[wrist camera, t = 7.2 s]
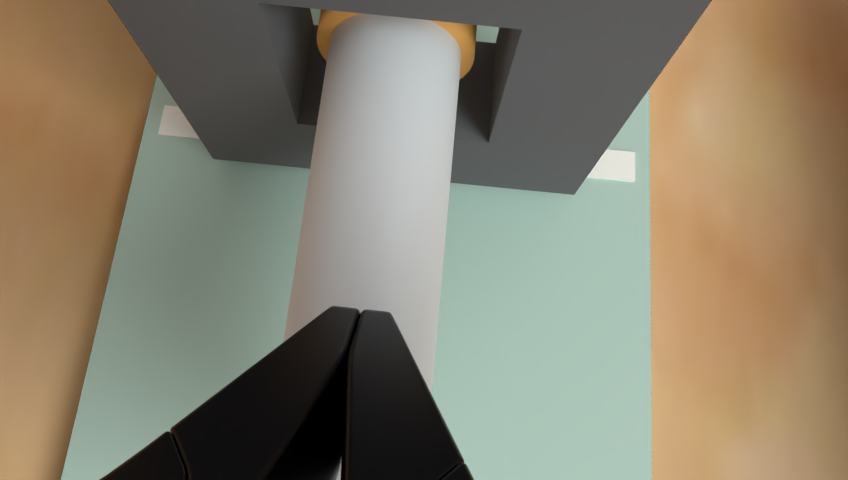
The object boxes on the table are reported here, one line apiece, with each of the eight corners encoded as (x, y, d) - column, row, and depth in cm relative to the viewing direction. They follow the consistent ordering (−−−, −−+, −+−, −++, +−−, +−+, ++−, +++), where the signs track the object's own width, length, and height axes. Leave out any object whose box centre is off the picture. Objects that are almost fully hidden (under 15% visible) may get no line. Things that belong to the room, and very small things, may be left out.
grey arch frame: (574, 194, 20) (762, -72, 10) (213, 159, 20) (9, -148, 10) (576, 106, 21) (751, -226, 11) (230, 71, 21) (61, -298, 11)
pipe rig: (639, 682, 18) (852, 897, 9) (44, 625, 18) (-278, 791, 9) (638, -78, 25) (758, -339, 17) (215, -120, 25) (121, -405, 17)
